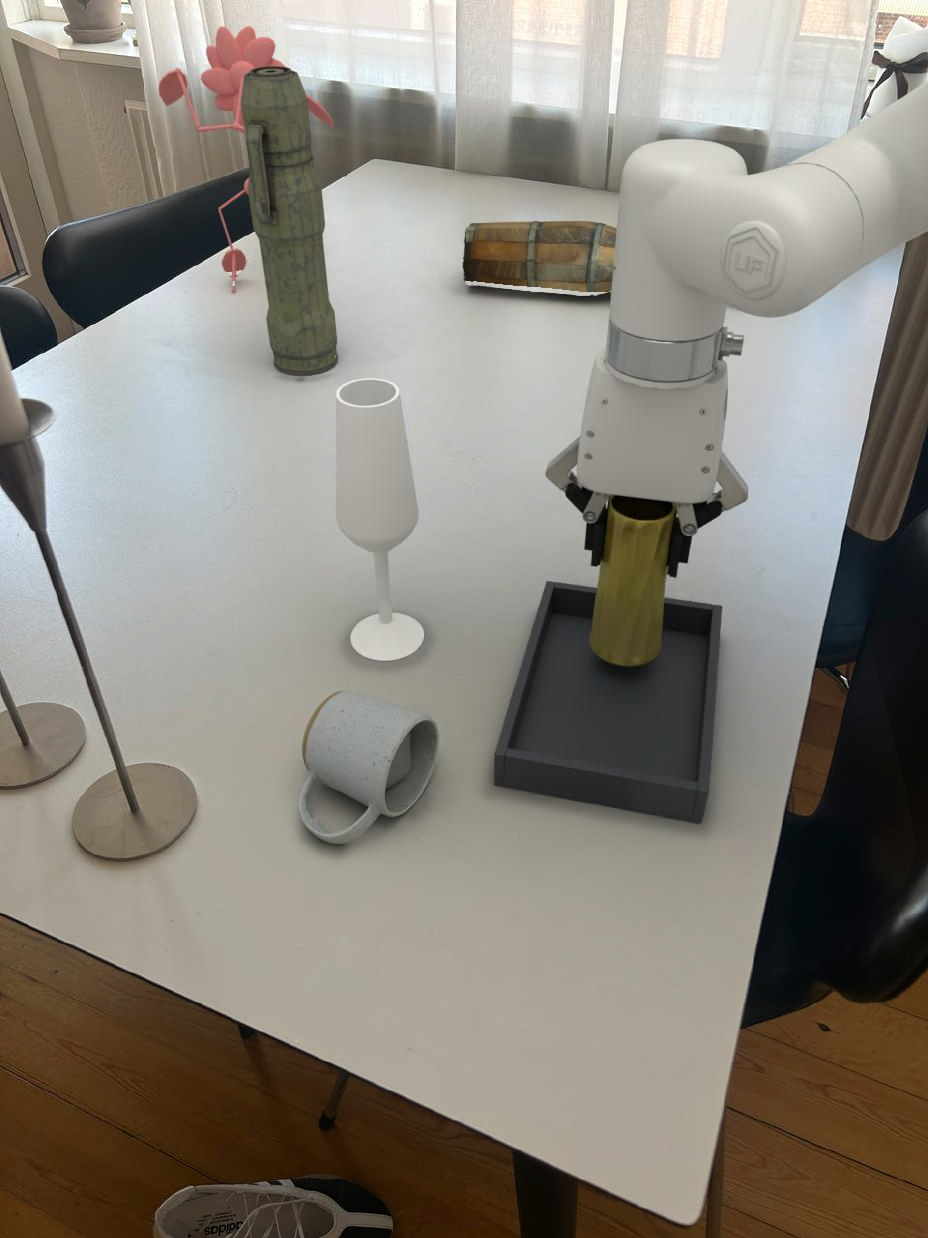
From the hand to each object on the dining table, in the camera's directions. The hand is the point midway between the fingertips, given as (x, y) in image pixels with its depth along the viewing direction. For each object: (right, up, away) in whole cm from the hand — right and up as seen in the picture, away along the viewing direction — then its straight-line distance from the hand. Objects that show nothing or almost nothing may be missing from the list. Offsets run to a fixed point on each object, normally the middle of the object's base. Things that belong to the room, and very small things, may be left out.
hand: (635, 559), depth 77 cm
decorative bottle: (+8, +45, +71) cm, 85 cm away
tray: (-1, -12, +4) cm, 12 cm away
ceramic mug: (-21, -18, -3) cm, 28 cm away
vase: (0, -7, +6) cm, 9 cm away
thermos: (-35, +30, +55) cm, 72 cm away
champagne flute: (-21, -6, +11) cm, 24 cm away
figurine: (-44, +50, +78) cm, 103 cm away
